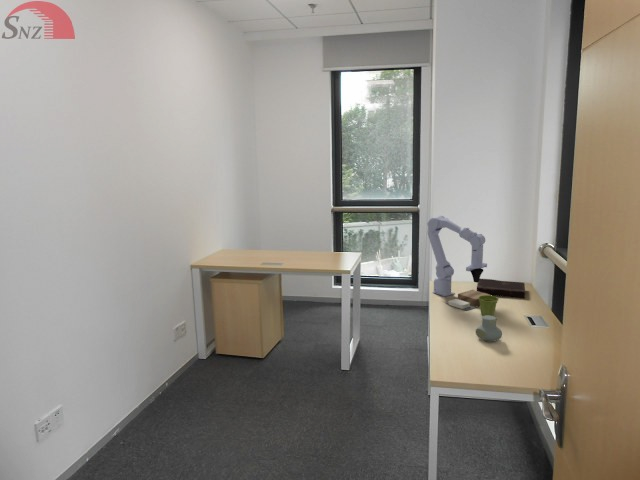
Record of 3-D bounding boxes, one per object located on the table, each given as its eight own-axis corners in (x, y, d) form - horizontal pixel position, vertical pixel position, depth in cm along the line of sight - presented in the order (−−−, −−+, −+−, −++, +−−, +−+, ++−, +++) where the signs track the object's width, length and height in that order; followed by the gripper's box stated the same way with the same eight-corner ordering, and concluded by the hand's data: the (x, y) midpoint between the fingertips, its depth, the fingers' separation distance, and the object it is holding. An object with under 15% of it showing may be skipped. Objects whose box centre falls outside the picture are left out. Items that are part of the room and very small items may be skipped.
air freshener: (472, 336, 209) (473, 314, 207) (487, 333, 212) (488, 312, 210) (489, 345, 199) (490, 323, 197) (505, 342, 202) (506, 320, 200)
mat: (445, 303, 252) (445, 303, 252) (455, 300, 256) (455, 300, 256) (466, 310, 241) (466, 310, 241) (476, 307, 245) (476, 307, 245)
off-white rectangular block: (456, 298, 253) (456, 302, 253) (448, 300, 249) (448, 304, 250) (470, 303, 245) (469, 306, 246) (462, 305, 242) (462, 309, 242)
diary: (524, 300, 256) (525, 291, 255) (476, 296, 266) (476, 287, 264) (523, 289, 273) (524, 281, 272) (478, 285, 282) (478, 277, 281)
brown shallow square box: (457, 300, 256) (457, 293, 255) (472, 296, 262) (472, 289, 261) (475, 306, 246) (476, 299, 245) (490, 302, 252) (491, 294, 252)
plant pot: (500, 318, 230) (501, 301, 228) (480, 318, 230) (481, 301, 228) (493, 311, 239) (494, 294, 237) (475, 311, 239) (475, 295, 237)
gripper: (474, 260, 244) (473, 286, 247) (492, 256, 251) (491, 281, 254) (463, 258, 250) (462, 283, 252) (481, 254, 257) (480, 278, 260)
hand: (476, 282), depth 254 cm, fingers closed
